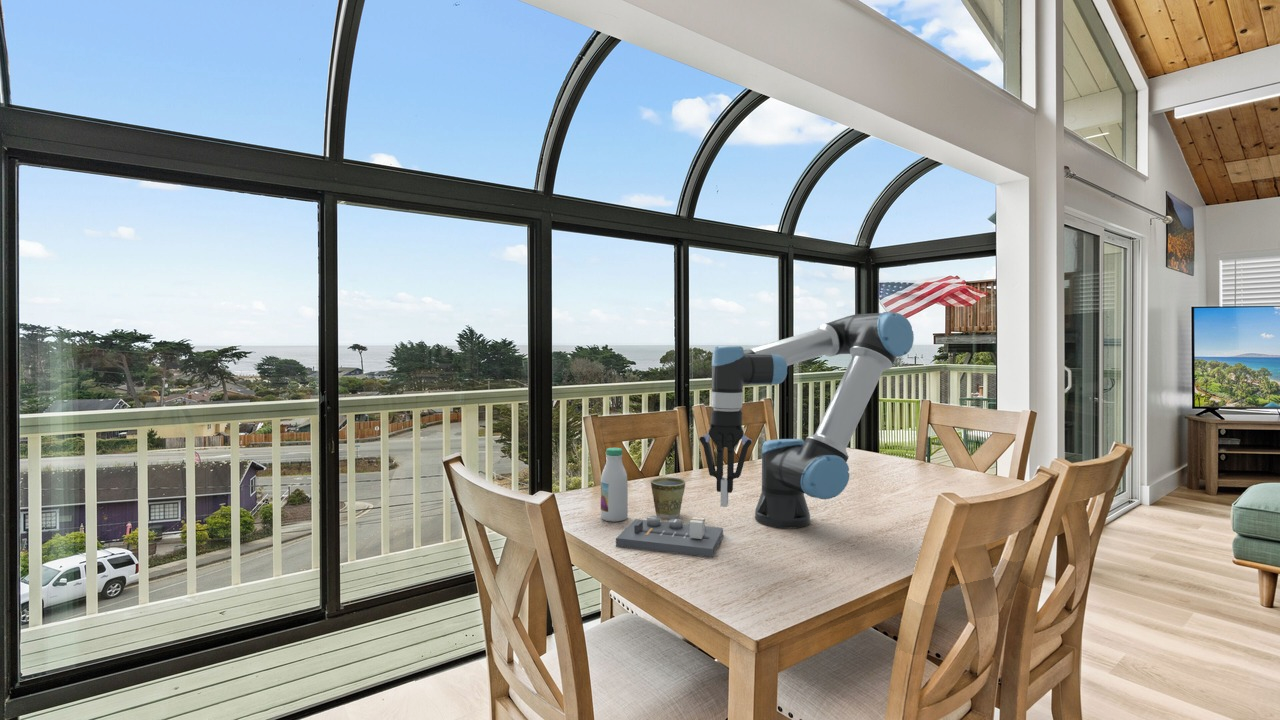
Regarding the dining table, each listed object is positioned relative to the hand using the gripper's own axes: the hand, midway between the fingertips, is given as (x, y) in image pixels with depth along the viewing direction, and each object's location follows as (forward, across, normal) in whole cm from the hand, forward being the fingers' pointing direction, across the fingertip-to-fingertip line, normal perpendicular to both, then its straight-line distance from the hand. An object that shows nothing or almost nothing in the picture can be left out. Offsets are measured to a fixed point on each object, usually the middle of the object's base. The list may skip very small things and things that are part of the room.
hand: (724, 505), depth 142 cm
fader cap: (+8, +7, 0) cm, 11 cm away
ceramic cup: (+11, +20, -23) cm, 32 cm away
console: (+11, +14, -1) cm, 17 cm away
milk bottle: (+11, +34, -14) cm, 38 cm away
